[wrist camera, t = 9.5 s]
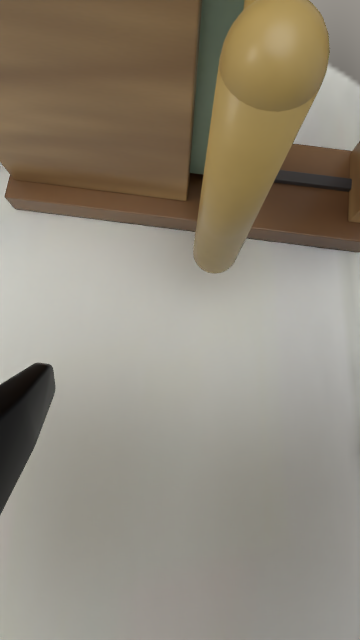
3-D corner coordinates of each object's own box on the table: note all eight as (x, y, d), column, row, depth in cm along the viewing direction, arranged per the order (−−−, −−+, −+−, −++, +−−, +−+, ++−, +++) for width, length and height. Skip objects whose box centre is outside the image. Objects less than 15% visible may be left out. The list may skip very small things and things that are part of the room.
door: (228, 290, 16) (395, 1, 4) (39, 267, 16) (-374, -92, 4) (242, 155, 17) (396, -367, 5) (69, 133, 17) (-168, -428, 5)
